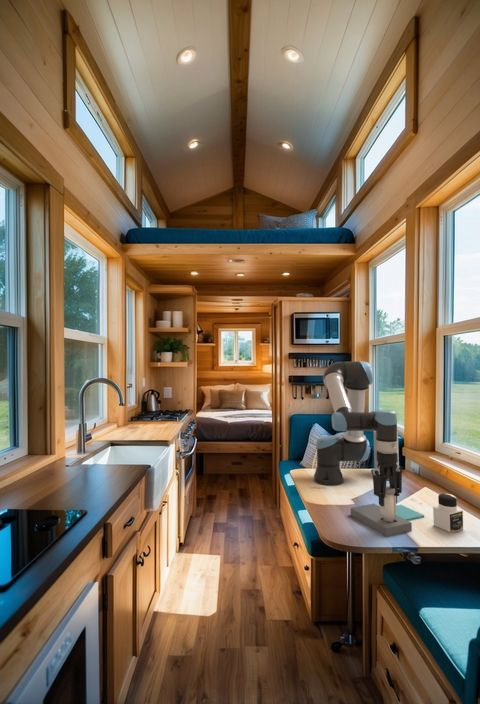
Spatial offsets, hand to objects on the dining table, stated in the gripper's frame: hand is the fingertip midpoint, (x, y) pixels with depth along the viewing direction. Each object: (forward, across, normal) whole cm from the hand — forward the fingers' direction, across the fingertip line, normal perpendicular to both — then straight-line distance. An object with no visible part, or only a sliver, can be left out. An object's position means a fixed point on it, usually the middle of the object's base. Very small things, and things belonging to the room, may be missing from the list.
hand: (388, 513), depth 136 cm
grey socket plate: (+5, 0, +5) cm, 7 cm away
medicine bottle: (+6, +21, -8) cm, 23 cm away
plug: (+4, 0, 0) cm, 4 cm away
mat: (+6, +14, +8) cm, 17 cm away
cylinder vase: (+6, +44, +48) cm, 65 cm away
